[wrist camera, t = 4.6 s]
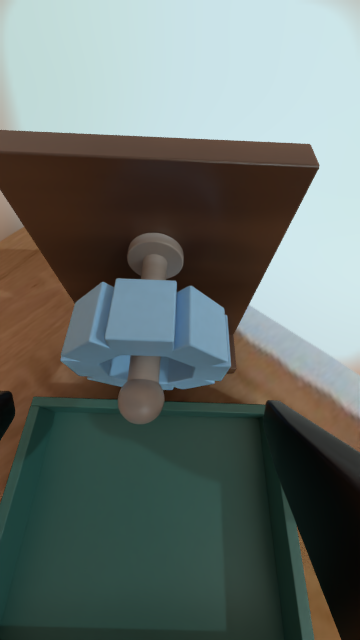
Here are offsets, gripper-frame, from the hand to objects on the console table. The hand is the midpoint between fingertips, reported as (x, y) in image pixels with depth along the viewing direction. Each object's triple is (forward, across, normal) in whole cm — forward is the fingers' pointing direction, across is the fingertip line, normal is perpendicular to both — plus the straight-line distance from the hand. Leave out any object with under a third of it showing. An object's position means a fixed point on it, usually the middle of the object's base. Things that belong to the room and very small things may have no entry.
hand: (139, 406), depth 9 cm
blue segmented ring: (+3, 0, -1) cm, 3 cm away
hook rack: (+11, 0, +4) cm, 12 cm away
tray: (+4, 0, +11) cm, 12 cm away
